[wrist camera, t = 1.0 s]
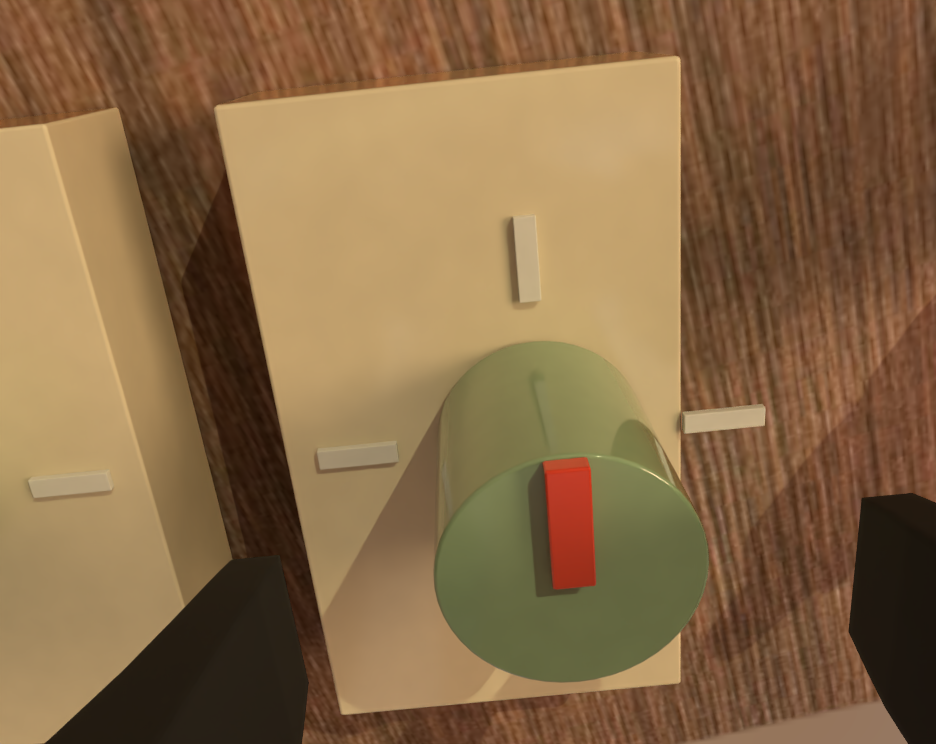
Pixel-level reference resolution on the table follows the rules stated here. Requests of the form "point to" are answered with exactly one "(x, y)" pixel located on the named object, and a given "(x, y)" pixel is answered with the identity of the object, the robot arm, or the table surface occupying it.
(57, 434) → the tan base plate
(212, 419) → the table surface
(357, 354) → the dial knob base
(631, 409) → the knob
